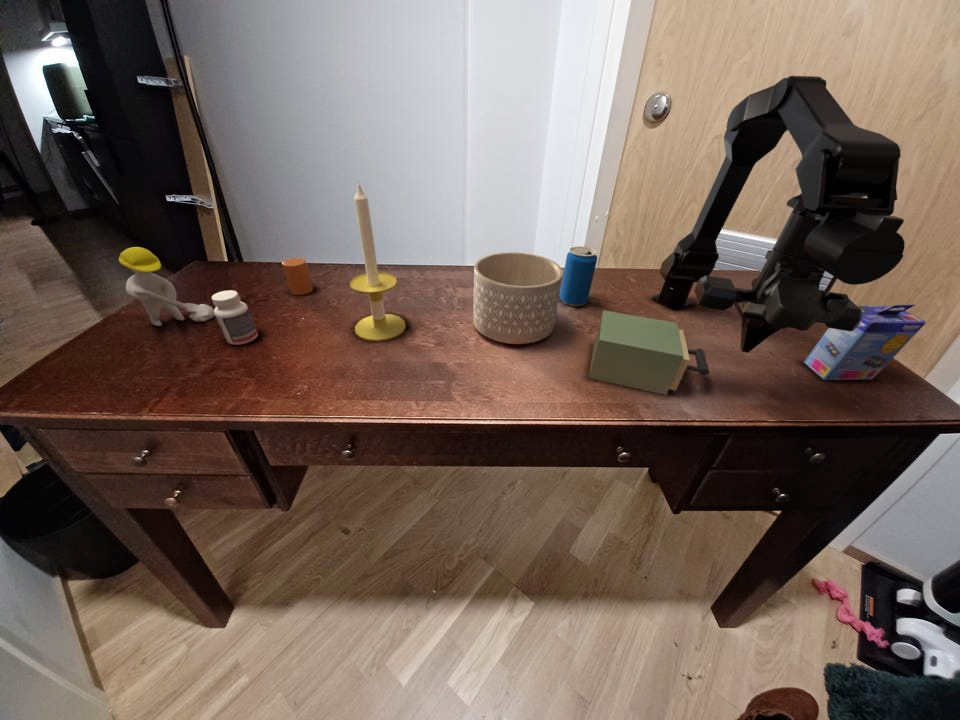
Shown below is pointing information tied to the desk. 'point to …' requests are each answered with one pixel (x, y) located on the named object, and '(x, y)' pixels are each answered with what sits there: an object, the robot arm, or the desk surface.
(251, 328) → the pill bottle
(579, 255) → the beverage can
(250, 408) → the desk surface
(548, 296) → the planter
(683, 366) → the drawer
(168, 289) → the figurine
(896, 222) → the robot arm
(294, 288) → the orange cylinder
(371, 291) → the candle
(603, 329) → the cabinet
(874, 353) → the ink cartridge box
